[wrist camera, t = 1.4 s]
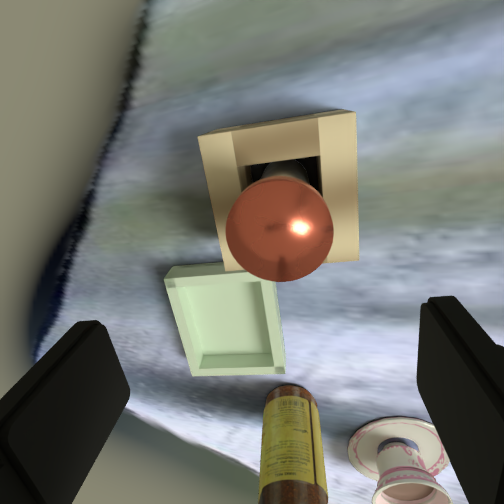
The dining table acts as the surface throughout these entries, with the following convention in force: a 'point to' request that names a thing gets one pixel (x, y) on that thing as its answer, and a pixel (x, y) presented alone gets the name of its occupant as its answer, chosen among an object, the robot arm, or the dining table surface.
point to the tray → (226, 320)
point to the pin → (280, 225)
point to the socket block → (284, 148)
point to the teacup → (401, 461)
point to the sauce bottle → (291, 449)
